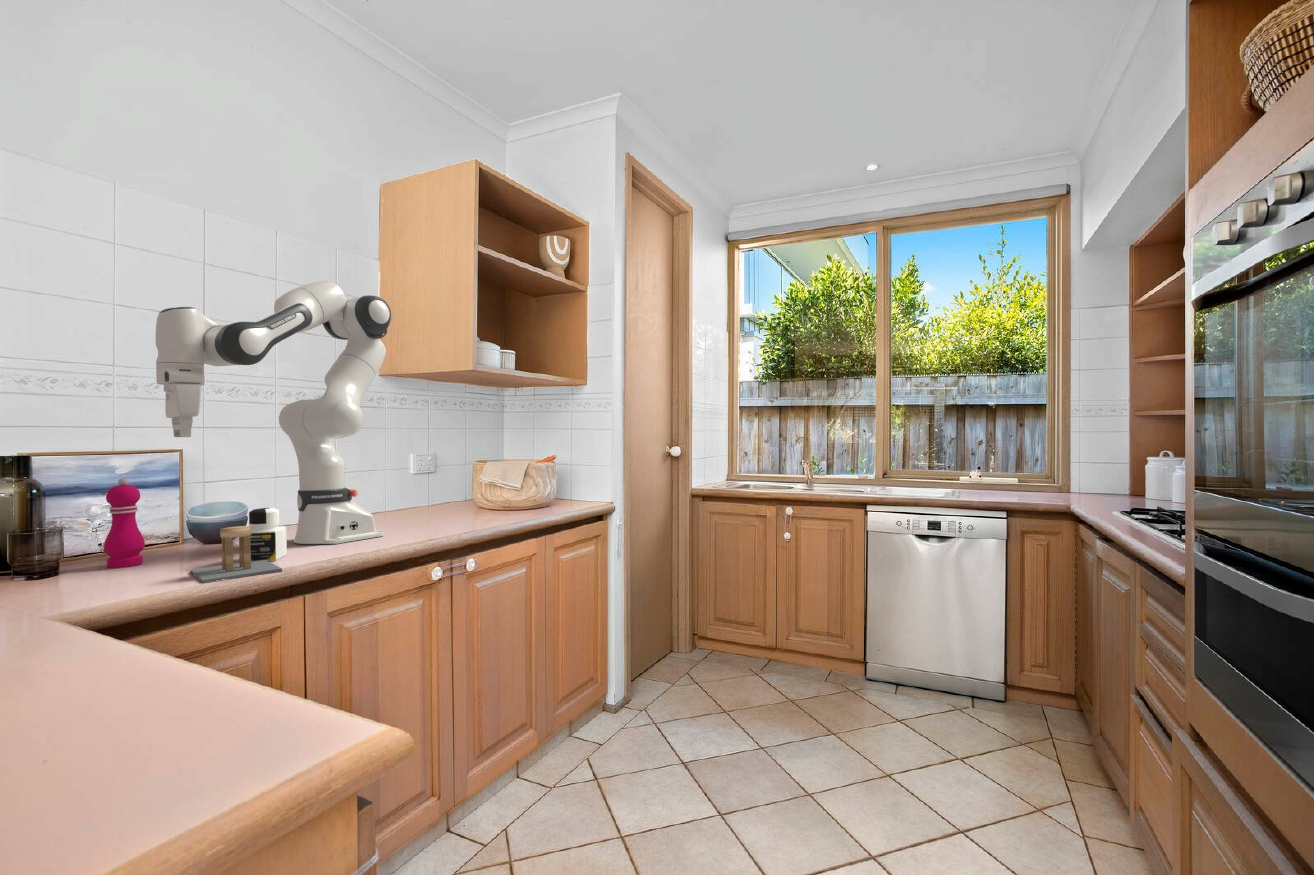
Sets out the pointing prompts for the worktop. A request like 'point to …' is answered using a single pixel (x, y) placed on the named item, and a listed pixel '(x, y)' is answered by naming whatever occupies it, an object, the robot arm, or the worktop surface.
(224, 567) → the stool
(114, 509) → the pepper mill
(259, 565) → the mat
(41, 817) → the worktop surface
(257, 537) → the medicine bottle
